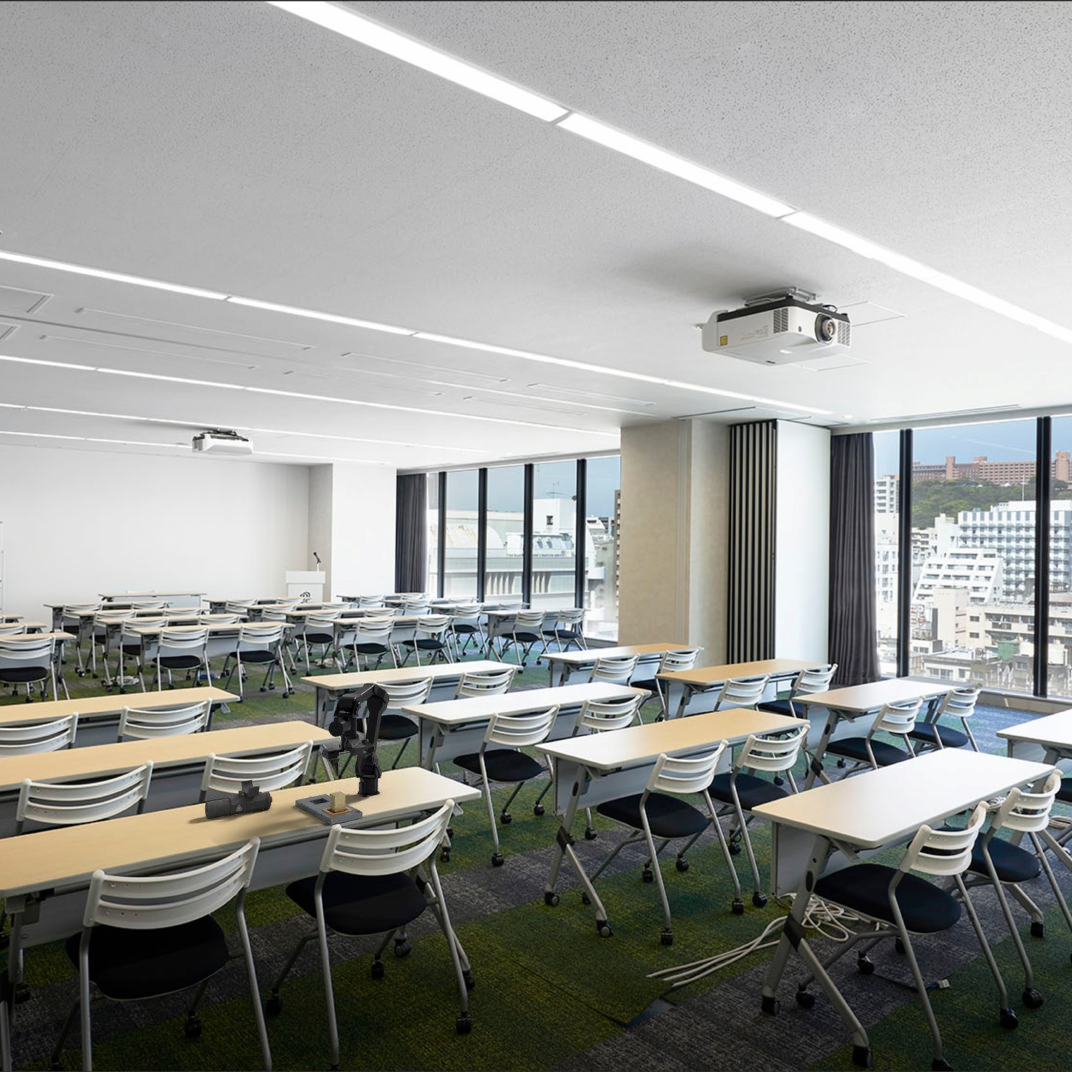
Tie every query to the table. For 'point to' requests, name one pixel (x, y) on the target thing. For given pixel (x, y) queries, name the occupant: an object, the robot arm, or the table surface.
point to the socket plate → (327, 809)
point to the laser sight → (240, 802)
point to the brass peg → (337, 802)
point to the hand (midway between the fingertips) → (348, 774)
